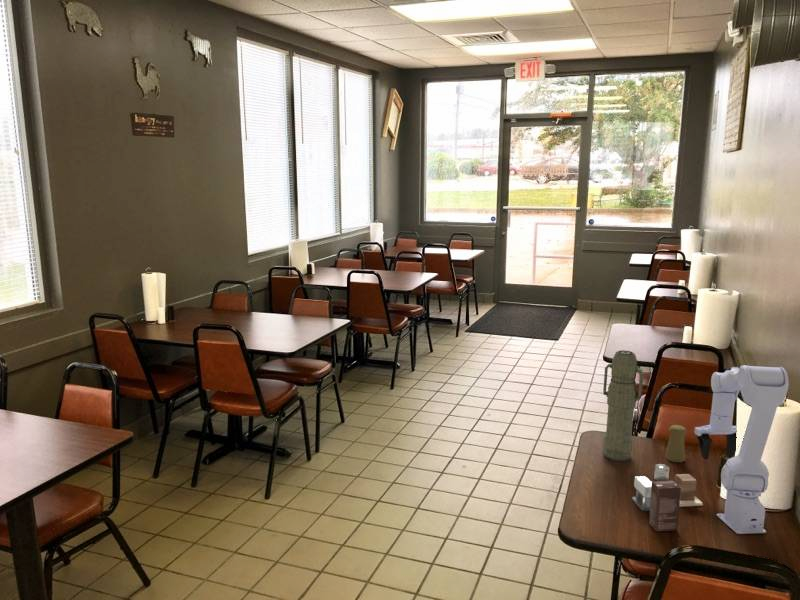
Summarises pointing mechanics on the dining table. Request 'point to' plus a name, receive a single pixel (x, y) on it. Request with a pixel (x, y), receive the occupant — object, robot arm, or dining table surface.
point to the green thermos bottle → (621, 405)
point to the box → (664, 505)
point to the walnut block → (686, 486)
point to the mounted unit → (642, 492)
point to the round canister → (661, 472)
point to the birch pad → (691, 503)
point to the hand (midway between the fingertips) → (717, 457)
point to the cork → (676, 444)
